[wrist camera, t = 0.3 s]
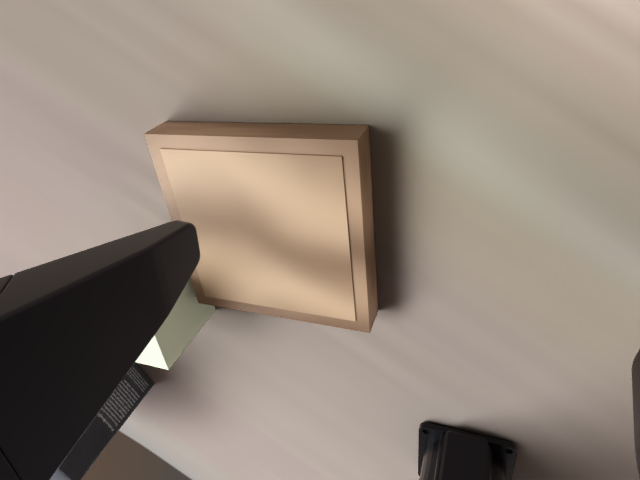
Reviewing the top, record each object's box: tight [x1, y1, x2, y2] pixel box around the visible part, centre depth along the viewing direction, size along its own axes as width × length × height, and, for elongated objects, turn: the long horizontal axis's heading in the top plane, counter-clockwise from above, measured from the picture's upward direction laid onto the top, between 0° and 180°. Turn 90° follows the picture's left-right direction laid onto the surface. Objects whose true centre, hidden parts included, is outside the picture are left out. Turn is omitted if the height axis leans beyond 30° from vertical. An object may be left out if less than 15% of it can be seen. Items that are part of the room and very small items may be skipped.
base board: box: [144, 121, 378, 333], centre depth 27 cm, size 12×12×2 cm
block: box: [136, 279, 216, 370], centre depth 32 cm, size 5×5×6 cm
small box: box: [50, 362, 154, 480], centre depth 42 cm, size 11×6×10 cm, turn 119°
